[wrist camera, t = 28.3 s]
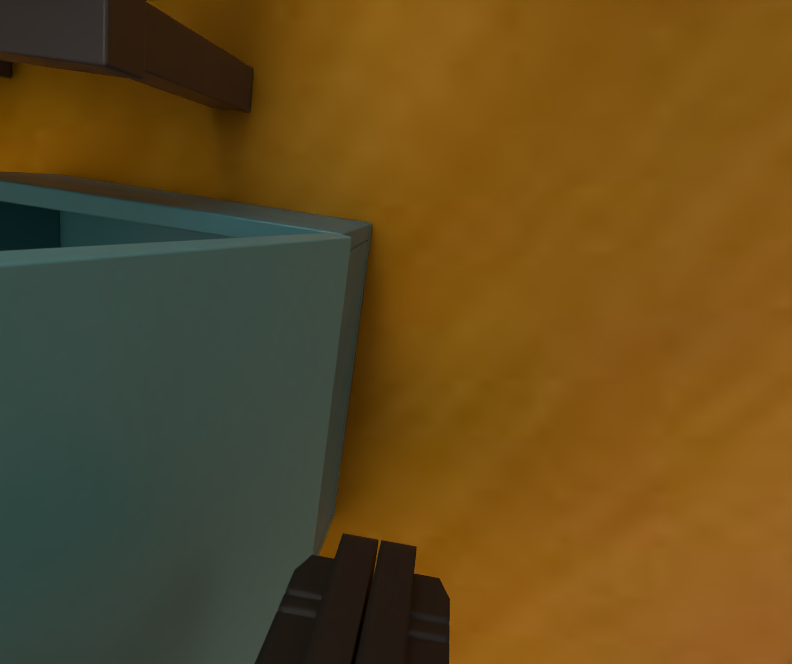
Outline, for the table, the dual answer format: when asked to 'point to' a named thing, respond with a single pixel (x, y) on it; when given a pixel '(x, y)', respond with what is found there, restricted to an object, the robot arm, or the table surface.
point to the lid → (161, 443)
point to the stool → (123, 48)
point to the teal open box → (182, 221)
